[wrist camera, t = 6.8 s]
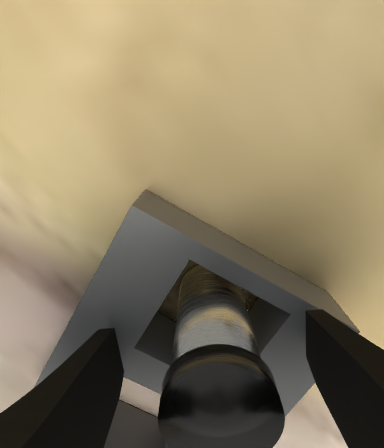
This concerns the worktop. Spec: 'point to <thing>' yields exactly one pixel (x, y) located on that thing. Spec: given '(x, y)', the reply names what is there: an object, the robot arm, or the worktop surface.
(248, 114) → the worktop surface
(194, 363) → the jar
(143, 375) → the socket strip
